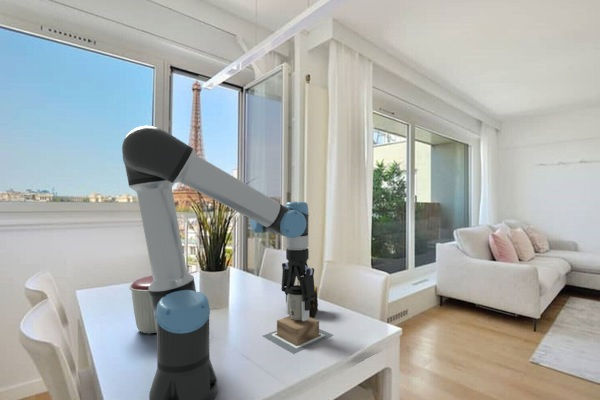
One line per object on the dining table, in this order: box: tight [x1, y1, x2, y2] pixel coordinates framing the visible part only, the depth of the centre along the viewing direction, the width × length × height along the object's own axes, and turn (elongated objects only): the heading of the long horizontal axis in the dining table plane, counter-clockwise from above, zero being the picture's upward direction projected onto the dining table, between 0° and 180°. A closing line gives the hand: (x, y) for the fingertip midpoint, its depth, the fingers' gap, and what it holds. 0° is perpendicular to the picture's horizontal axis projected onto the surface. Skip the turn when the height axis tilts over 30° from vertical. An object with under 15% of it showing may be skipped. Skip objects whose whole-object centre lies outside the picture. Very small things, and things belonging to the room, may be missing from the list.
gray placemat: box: [262, 328, 334, 355], centre depth 103 cm, size 18×16×1 cm
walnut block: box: [276, 315, 320, 346], centre depth 103 cm, size 10×10×5 cm
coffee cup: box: [287, 284, 307, 320], centre depth 103 cm, size 7×7×10 cm
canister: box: [128, 274, 157, 334], centre depth 111 cm, size 18×18×21 cm
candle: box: [289, 285, 319, 319], centre depth 124 cm, size 10×10×10 cm
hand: (297, 316), depth 103 cm, fingers closed on coffee cup, 7 cm apart
